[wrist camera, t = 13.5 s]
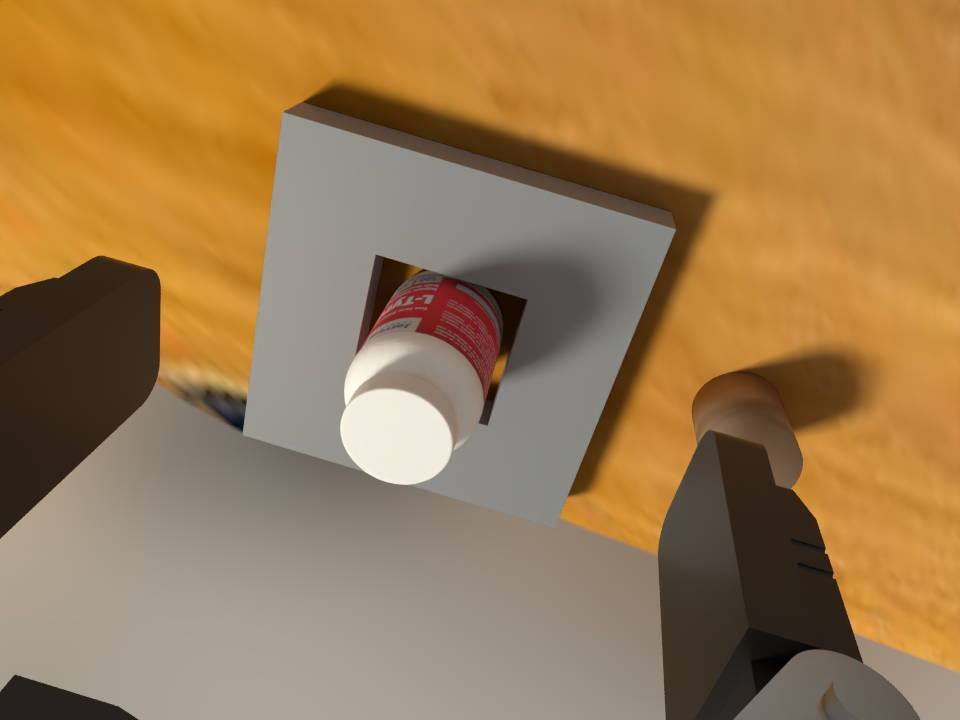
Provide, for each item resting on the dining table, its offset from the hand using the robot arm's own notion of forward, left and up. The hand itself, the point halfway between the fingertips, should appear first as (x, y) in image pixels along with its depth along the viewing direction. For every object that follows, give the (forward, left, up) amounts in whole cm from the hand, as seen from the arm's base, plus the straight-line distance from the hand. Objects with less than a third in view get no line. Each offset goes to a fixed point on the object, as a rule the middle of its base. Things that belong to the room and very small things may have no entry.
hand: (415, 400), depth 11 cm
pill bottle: (+2, +12, -27) cm, 30 cm away
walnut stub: (-14, +13, -27) cm, 33 cm away
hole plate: (+2, +13, -27) cm, 29 cm away
